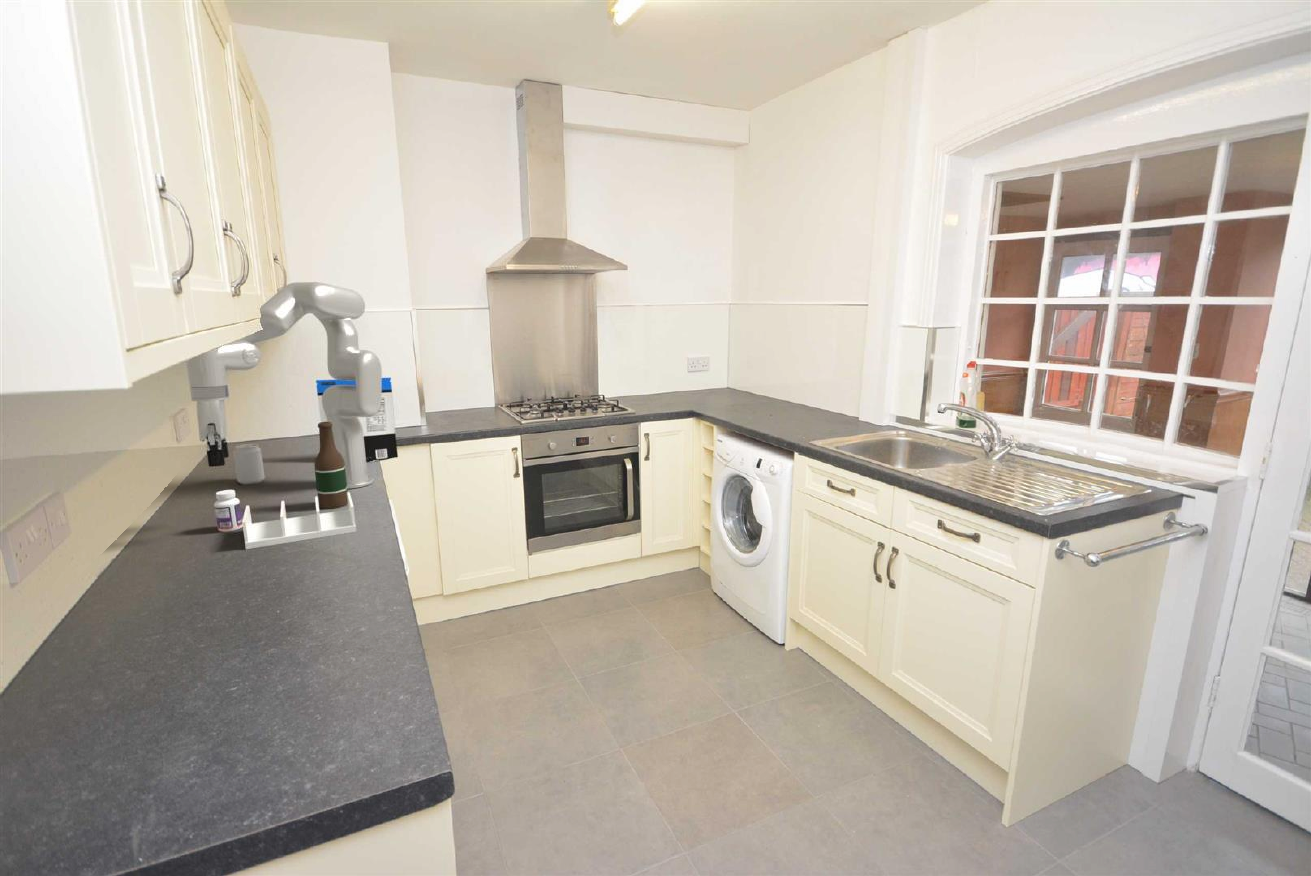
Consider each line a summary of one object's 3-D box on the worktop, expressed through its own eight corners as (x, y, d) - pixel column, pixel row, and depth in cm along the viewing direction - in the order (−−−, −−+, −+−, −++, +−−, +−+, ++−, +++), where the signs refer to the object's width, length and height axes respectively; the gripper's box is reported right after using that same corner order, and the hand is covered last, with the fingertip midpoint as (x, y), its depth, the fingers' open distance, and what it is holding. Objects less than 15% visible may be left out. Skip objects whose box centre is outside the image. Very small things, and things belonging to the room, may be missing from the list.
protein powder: (397, 460, 228) (390, 378, 221) (323, 466, 219) (313, 381, 213) (398, 454, 236) (391, 376, 230) (327, 459, 228) (317, 378, 222)
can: (231, 484, 197) (226, 447, 195) (251, 477, 204) (246, 442, 202) (251, 485, 195) (245, 448, 193) (270, 479, 202) (265, 443, 200)
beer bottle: (322, 511, 171) (312, 426, 166) (316, 504, 177) (306, 422, 172) (352, 505, 176) (343, 422, 171) (345, 499, 182) (336, 418, 177)
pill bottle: (236, 523, 162) (231, 487, 160) (247, 527, 159) (242, 490, 157) (213, 529, 157) (208, 493, 155) (224, 533, 154) (218, 496, 152)
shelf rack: (249, 529, 157) (246, 505, 156) (351, 514, 168) (349, 491, 167) (245, 549, 144) (242, 522, 143) (356, 531, 156) (353, 506, 154)
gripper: (195, 390, 156) (205, 456, 160) (185, 398, 141) (195, 471, 145) (231, 388, 160) (239, 453, 163) (224, 396, 145) (234, 467, 148)
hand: (219, 461), depth 154 cm, fingers open, 9 cm apart
